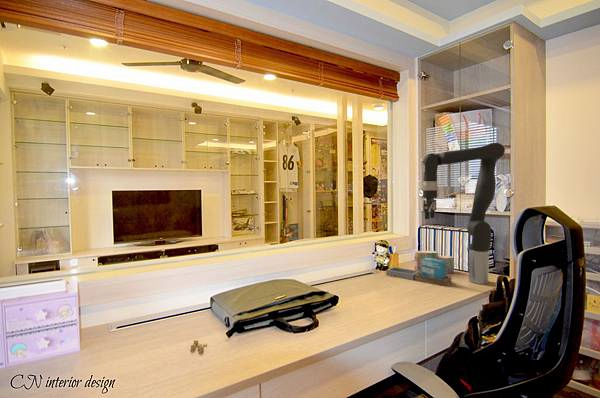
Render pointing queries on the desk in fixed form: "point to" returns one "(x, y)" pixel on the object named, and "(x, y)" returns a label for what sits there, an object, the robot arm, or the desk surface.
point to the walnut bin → (433, 280)
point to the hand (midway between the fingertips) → (429, 218)
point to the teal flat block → (433, 268)
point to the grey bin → (402, 273)
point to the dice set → (200, 347)
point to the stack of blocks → (434, 255)
